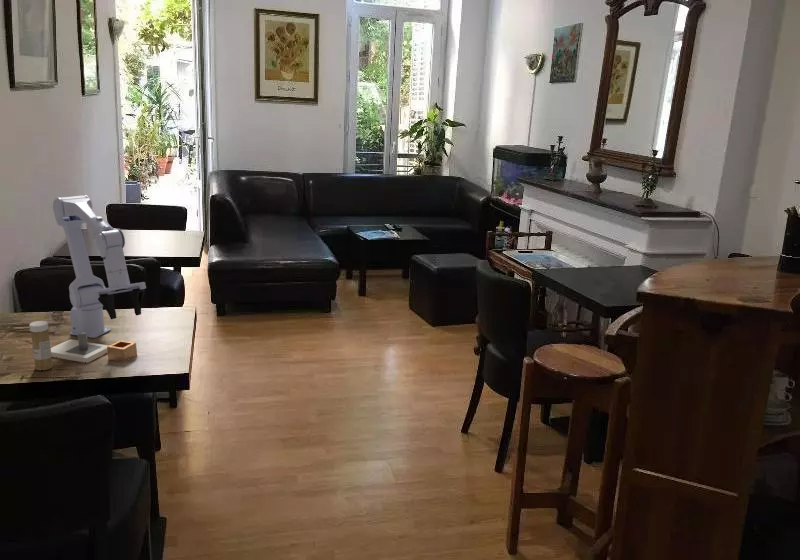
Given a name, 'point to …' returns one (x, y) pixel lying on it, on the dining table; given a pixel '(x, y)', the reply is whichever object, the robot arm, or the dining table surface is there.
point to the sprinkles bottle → (41, 345)
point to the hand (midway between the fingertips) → (126, 316)
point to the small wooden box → (122, 351)
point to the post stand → (79, 349)
